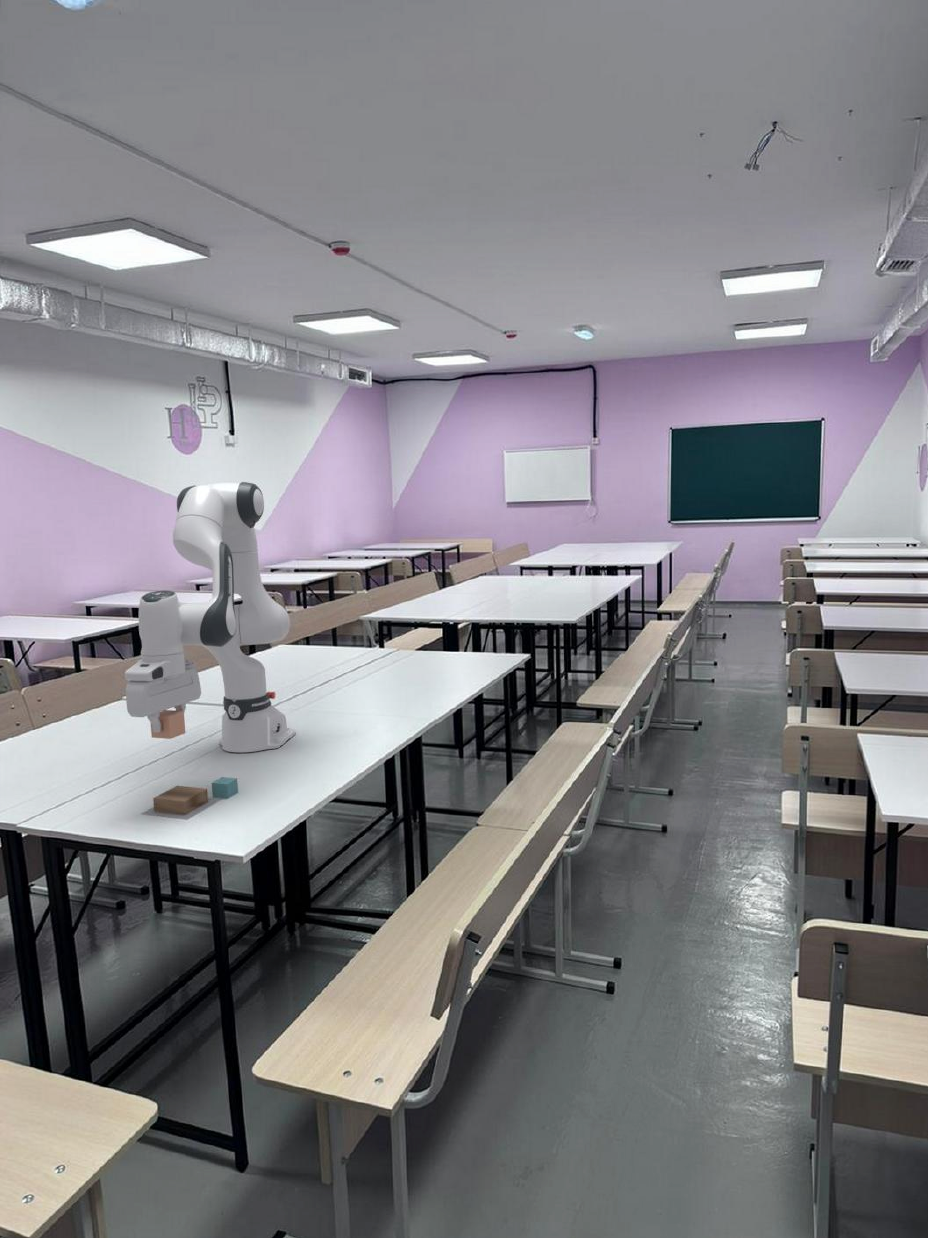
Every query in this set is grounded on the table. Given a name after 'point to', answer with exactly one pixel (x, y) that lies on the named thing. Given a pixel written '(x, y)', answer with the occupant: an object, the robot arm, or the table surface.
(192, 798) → the base brick
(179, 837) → the table surface
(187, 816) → the mat
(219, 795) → the teal cube
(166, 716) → the terracotta cube
